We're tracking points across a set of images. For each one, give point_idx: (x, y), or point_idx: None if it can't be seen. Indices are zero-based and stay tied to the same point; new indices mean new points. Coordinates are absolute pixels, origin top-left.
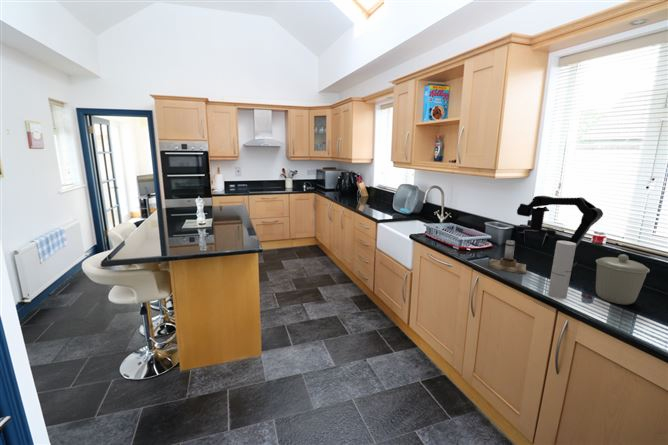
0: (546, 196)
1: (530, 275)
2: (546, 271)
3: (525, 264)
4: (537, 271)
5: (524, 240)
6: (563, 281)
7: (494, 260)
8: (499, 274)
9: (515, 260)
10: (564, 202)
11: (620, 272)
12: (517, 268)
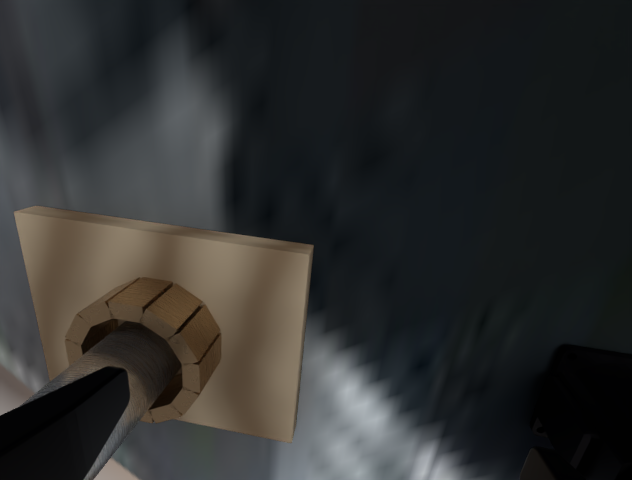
0: None
1: (328, 434)
2: (484, 300)
3: (304, 258)
4: (399, 330)
5: (50, 473)
6: None
7: (48, 255)
8: (150, 470)
9: (190, 363)
10: None
11: None
12: (236, 395)
